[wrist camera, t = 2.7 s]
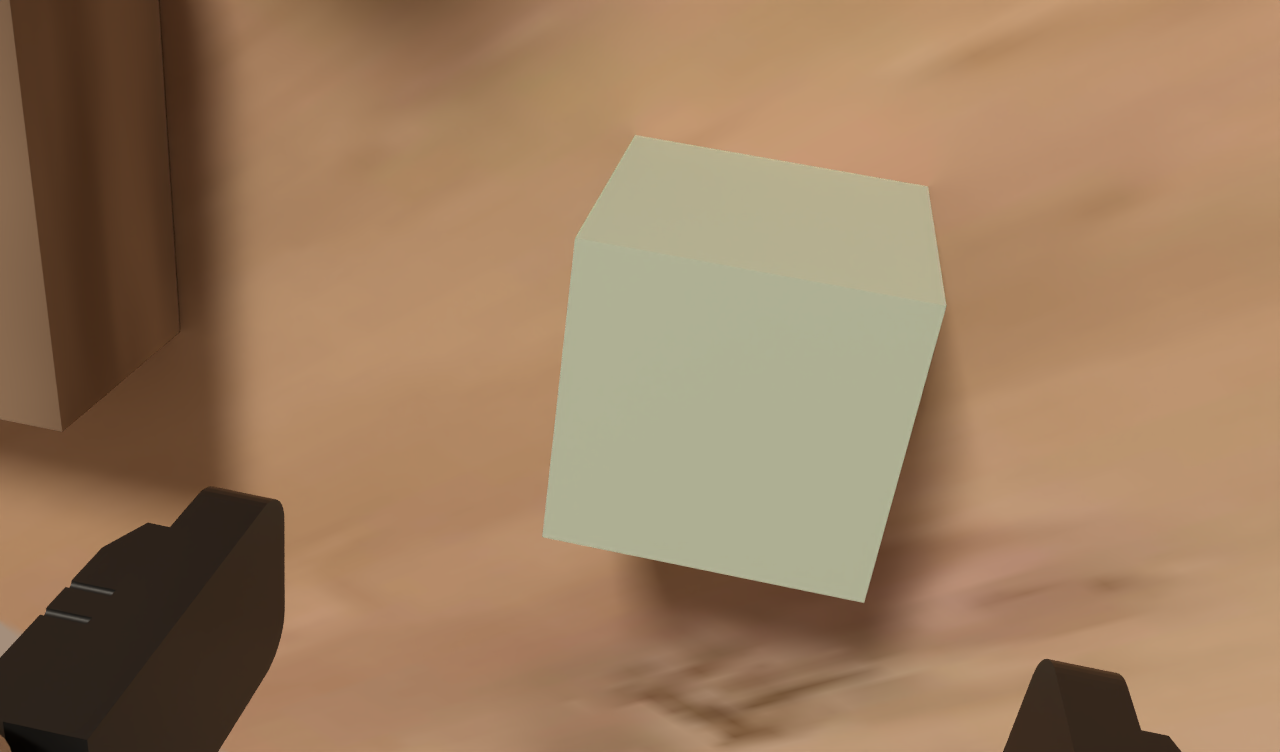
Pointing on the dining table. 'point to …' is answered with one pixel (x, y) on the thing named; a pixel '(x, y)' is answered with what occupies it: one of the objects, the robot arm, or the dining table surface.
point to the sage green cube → (743, 365)
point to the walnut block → (81, 204)
